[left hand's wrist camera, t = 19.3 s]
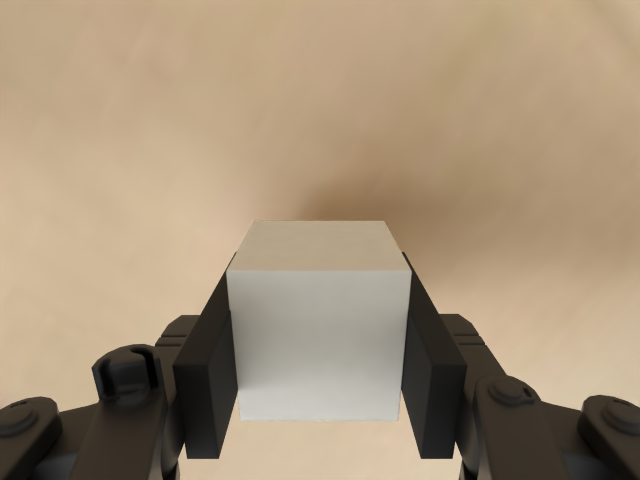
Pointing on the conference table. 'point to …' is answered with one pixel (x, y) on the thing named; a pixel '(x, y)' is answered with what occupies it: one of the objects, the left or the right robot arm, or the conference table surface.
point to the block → (319, 321)
